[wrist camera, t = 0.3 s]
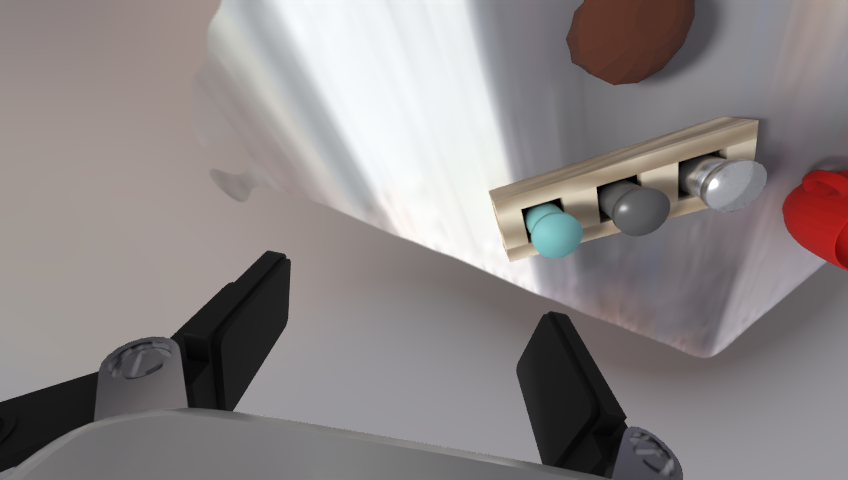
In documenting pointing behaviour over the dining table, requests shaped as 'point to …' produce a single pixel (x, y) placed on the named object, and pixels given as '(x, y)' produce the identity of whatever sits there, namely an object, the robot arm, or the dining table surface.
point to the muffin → (628, 37)
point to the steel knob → (722, 181)
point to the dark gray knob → (634, 207)
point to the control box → (645, 160)
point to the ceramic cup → (820, 215)
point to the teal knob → (553, 230)
